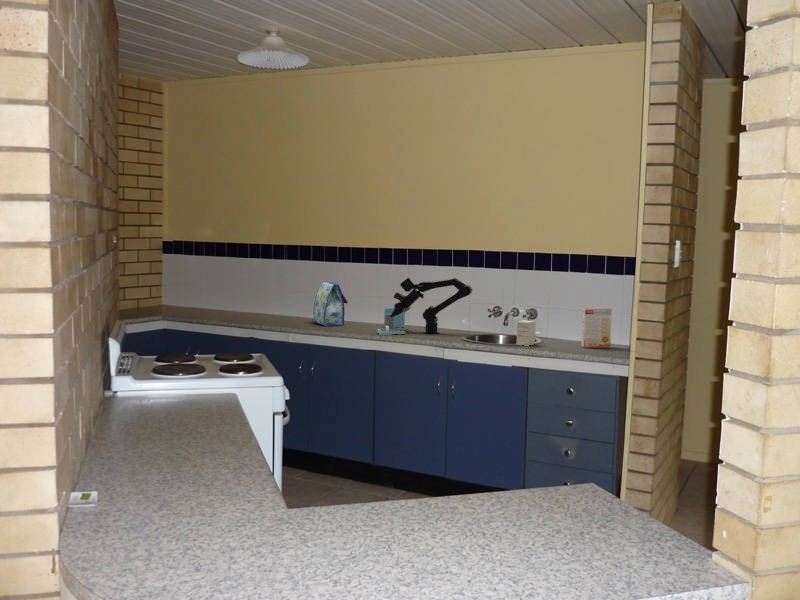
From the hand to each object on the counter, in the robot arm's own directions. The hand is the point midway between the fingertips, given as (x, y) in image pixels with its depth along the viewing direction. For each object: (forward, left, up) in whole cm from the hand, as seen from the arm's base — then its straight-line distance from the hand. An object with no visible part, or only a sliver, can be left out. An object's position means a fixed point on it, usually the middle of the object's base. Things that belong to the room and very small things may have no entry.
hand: (392, 316), depth 463 cm
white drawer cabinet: (-82, -19, -9) cm, 85 cm away
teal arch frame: (+13, -14, -9) cm, 22 cm away
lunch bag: (+48, +8, -9) cm, 50 cm away
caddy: (-8, +9, -9) cm, 15 cm away
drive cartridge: (+1, +1, -9) cm, 9 cm away
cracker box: (-111, -40, -9) cm, 118 cm away
